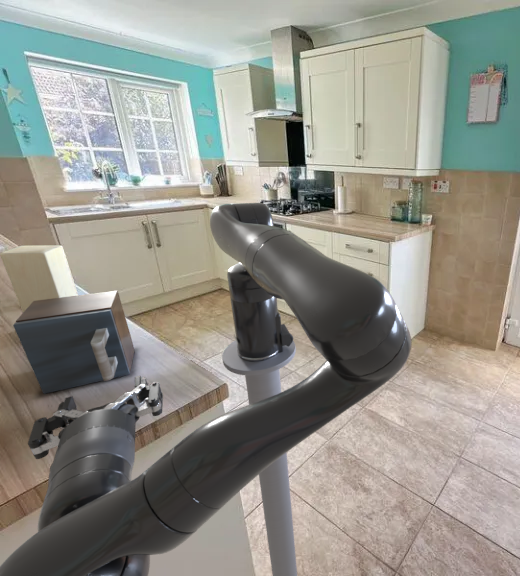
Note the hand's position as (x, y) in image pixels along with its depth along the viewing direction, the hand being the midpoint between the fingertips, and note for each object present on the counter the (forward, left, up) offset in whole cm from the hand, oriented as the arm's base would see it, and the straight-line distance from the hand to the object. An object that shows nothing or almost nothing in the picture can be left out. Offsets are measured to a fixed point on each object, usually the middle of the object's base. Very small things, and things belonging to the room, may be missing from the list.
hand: (107, 390), depth 52 cm
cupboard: (+6, -21, -8) cm, 23 cm away
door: (+6, -13, -7) cm, 16 cm away
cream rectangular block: (+16, -43, -8) cm, 46 cm away
